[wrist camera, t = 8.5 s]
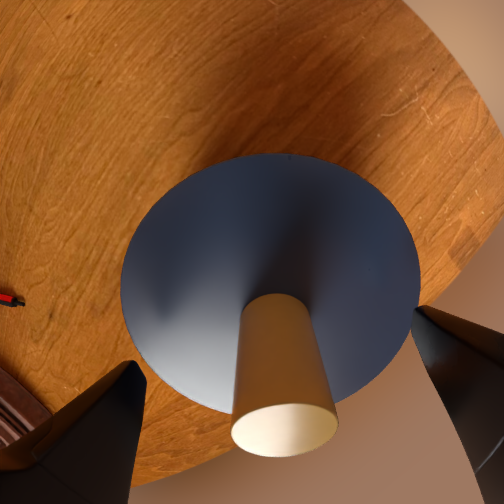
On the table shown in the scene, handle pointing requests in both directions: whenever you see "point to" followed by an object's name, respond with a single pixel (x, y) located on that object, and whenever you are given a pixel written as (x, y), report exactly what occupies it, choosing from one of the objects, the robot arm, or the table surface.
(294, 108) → the table surface
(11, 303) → the pen
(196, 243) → the canister lid
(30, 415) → the desk lamp
